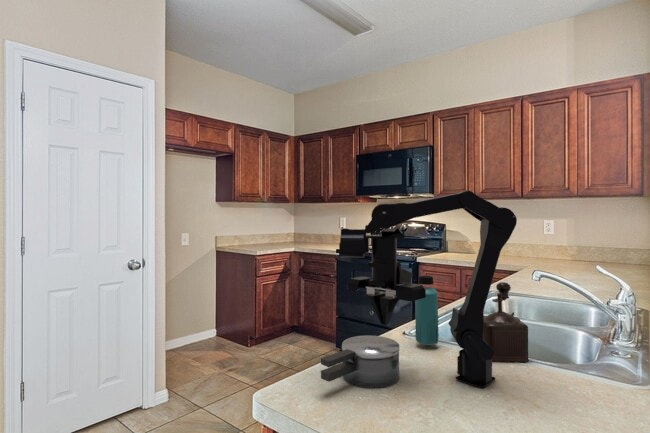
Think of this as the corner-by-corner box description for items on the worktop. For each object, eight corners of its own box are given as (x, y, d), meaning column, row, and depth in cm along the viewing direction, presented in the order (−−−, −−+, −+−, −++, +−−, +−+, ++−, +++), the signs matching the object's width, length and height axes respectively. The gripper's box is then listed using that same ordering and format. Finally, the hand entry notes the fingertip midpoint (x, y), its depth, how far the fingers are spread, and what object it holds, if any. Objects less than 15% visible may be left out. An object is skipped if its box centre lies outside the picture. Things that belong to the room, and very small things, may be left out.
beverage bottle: (439, 351, 107) (439, 278, 107) (415, 349, 108) (414, 277, 108) (437, 343, 113) (437, 274, 113) (414, 342, 115) (414, 273, 114)
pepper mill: (532, 363, 98) (532, 291, 98) (487, 362, 99) (486, 291, 99) (508, 343, 113) (508, 281, 113) (469, 342, 114) (469, 280, 114)
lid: (410, 348, 90) (410, 343, 90) (348, 375, 76) (348, 369, 76) (367, 336, 100) (367, 331, 100) (304, 357, 85) (304, 351, 85)
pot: (410, 376, 90) (410, 350, 90) (348, 407, 76) (347, 376, 76) (364, 360, 101) (364, 337, 100) (301, 385, 86) (301, 358, 86)
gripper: (438, 257, 89) (439, 326, 89) (374, 252, 103) (375, 311, 103) (410, 262, 82) (411, 336, 82) (345, 255, 95) (346, 319, 95)
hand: (384, 324), depth 91 cm, fingers closed
